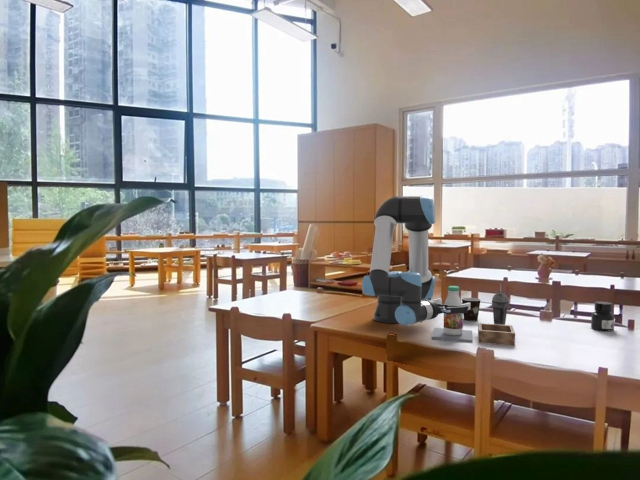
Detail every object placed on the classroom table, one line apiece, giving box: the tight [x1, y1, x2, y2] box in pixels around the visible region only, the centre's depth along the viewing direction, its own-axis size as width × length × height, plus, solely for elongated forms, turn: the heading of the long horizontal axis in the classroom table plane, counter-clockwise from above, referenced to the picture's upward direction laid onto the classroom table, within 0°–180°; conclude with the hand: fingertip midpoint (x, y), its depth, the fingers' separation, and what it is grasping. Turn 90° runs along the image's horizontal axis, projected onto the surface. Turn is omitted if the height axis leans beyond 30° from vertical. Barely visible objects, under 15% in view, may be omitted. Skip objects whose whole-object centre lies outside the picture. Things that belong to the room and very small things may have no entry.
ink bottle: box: [590, 301, 615, 332], centre depth 211 cm, size 10×9×12 cm
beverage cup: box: [491, 283, 509, 325], centre depth 214 cm, size 7×7×20 cm
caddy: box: [477, 322, 516, 347], centre depth 192 cm, size 13×13×5 cm
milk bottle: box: [443, 285, 464, 335], centre depth 197 cm, size 8×8×20 cm
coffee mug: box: [461, 297, 481, 322], centre depth 228 cm, size 12×9×10 cm
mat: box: [431, 327, 474, 343], centre depth 198 cm, size 16×16×1 cm
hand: (455, 303), depth 198 cm, fingers open, 13 cm apart
